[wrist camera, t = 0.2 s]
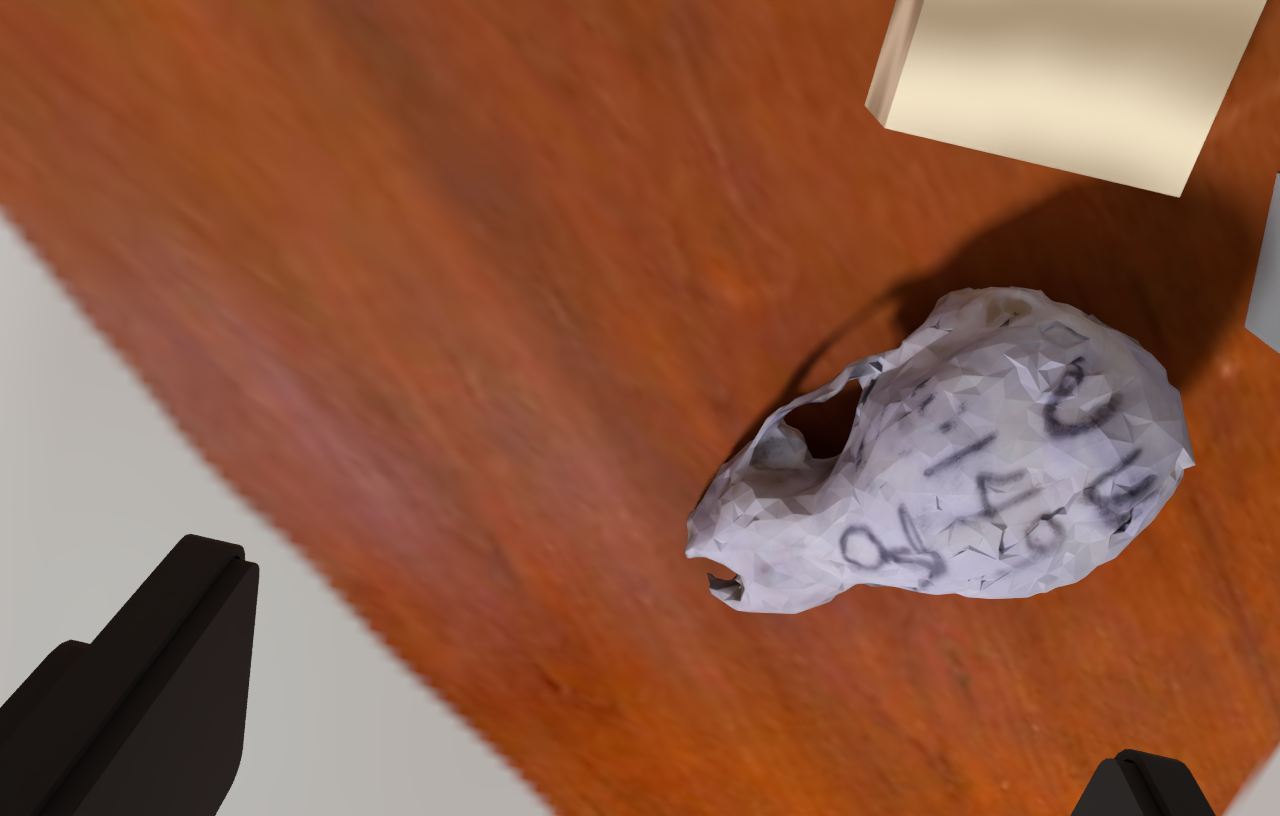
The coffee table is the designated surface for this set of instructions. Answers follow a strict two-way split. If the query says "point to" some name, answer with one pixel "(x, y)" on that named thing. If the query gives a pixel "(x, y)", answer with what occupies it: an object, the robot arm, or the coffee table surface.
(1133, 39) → the maple block
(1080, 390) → the skull
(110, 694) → the robot arm
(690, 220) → the coffee table surface
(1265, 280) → the slate block
